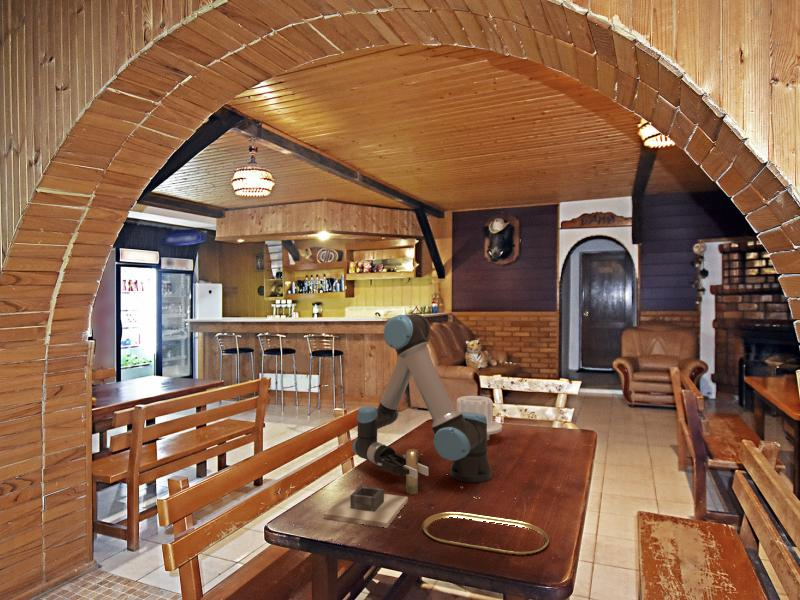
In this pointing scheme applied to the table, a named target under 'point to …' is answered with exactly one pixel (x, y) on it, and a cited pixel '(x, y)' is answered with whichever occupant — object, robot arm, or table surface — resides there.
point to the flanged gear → (480, 410)
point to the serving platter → (487, 519)
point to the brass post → (413, 463)
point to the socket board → (367, 507)
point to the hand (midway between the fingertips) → (422, 472)
